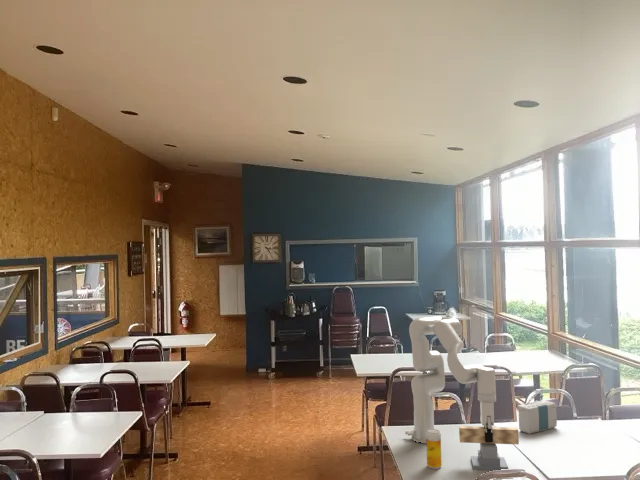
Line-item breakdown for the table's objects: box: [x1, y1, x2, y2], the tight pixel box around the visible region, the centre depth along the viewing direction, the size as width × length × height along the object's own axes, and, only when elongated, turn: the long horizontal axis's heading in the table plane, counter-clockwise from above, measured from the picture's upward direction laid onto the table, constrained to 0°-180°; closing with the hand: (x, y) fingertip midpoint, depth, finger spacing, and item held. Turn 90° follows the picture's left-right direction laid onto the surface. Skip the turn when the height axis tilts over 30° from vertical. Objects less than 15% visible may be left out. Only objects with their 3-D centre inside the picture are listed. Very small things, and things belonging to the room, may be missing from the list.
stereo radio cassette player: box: [517, 388, 558, 435], centre depth 287 cm, size 21×8×20 cm, turn 119°
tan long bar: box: [458, 425, 520, 445], centre depth 239 cm, size 24×4×6 cm, turn 80°
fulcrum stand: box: [470, 443, 509, 471], centre depth 238 cm, size 14×12×9 cm
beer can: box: [425, 428, 442, 470], centre depth 238 cm, size 6×6×15 cm
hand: (488, 439), depth 239 cm, fingers closed on tan long bar, 3 cm apart
